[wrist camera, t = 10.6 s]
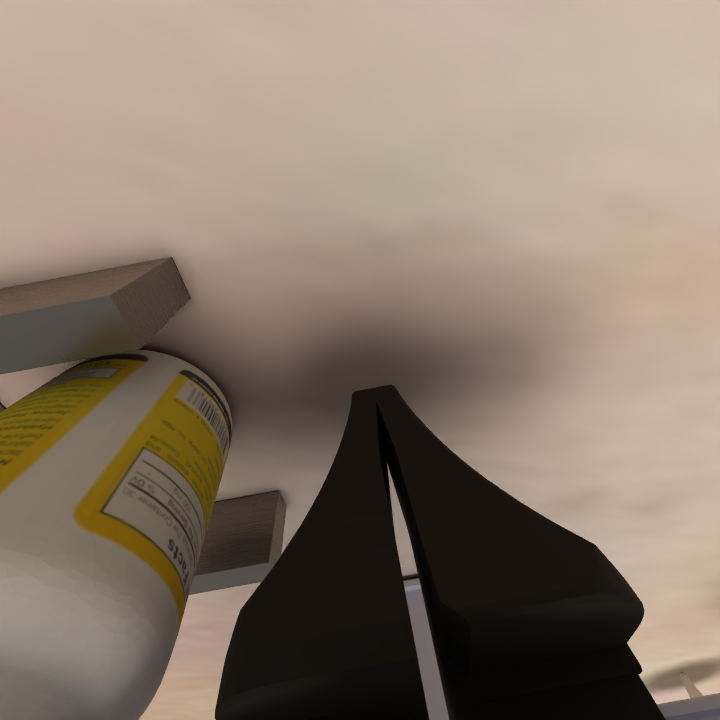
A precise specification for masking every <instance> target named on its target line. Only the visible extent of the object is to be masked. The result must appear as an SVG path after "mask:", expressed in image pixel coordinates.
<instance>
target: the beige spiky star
mask: <svg viewBox="0 0 720 720" xmlns="http://www.w3.org/2000/svg"><path fill="white" fill-rule="evenodd" d="M680 677H681V679H682V681H683V684H684V686H685V688H686V690H687V692H688V694H689V696H690V698H695V697H701V696H703V695H702V694H701V693H700V691H699V690H698V689H697V688H696V687H695V685H694V684H693V683H692V682H691V681H690V679H689V678H688V677H687V676H686V675H685V674H684V673H680Z"/></svg>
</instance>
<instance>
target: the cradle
mask: <svg viewBox="0 0 720 720" xmlns="http://www.w3.org/2000/svg"><path fill="white" fill-rule="evenodd" d="M189 299H190V296H189V294H188V292H187V290H186V288H185V285H184V283H183V281H182V279H181V277H180V274H179V272H178V270H177V268H176V266H175V264H174V261H173V259H172V257H170V258H165V259H160V260H154V261H149V262H143V263H138V264H133V265H127V266H122V267H117V268H111V269H106V270H100V271H95V272H90V273H84V274H79V275H74V276H68V277H63V278H57V279H52V280H47V281H41V282H36V283H31V284H25V285H20V286H14V287H9V288H4V289H0V374H5V373H10V372H16V371H21V370H26V369H32V368H37V367H43V366H48V365H53V364H59V363H64V362H70V361H75V360H80V359H86V358H91V357H97V356H102V355H107V354H113V353H118V352H124V351H129V350H134V349H140V348H142V347H143V346H144V345H145V344H146V343H147V342H148V341H149V340H150V339H151V338H152V337H153V336H154V335H155V334H156V333H157V332H158V331H159V330H160V329H161V328H162V327H163V326H164V325H165V324H166V323H167V322H168V321H169V320H170V319H171V318H172V317H173V316H174V315H175V314H176V313H177V312H178V311H179V310H180V309H181V307H182V306H183V305H184V304H185V303H186V302H187V301H188V300H189ZM3 410H5V409H4V407H3V406H2V405H1V404H0V412H1V411H3ZM285 515H286V505H285V503H284V501H283V499H282V496H281V494H280V492H279V491H275V492H269V493H264V494H258V495H253V496H247V497H242V498H237V499H231V500H226V501H220V502H215V503H214V506H213V509H212V513H211V517H210V521H209V524H208V528H207V531H206V534H205V538H204V542H203V545H202V549H201V552H200V556H199V560H198V563H197V567H196V570H195V574H194V577H193V581H192V585H191V588H190V592H189V595H191V594H197V593H202V592H208V591H213V590H219V589H224V588H230V587H235V586H241V585H246V584H252V583H257V582H262V581H263V580H264V578H265V577H266V576H267V574H268V573H269V572H270V570H271V569H272V568H273V566H274V565H275V564H276V562H277V561H278V559H279V558H280V556H281V551H282V542H283V533H284V524H285Z"/></svg>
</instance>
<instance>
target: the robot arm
mask: <svg viewBox="0 0 720 720" xmlns="http://www.w3.org/2000/svg"><path fill="white" fill-rule="evenodd" d="M387 463H388V467H389V470H390V473H391V476H392V480H393V483H394V486H395V489H396V493H397V496H398V499H399V502H400V505H401V509H402V512H403V515H404V518H405V522H406V525H407V529H408V532H409V536H410V540H411V544H412V549H413V554H414V558H415V563H416V567H417V572H418V576H419V578H417V579H412V580H406V581H403V578H402V572H401V567H400V562H399V556H398V551H397V546H396V540H395V533H394V526H393V516H392V506H391V497H390V487H389V478H388V468H387ZM643 616H644V608H643V604H642V602H641V601H640V599H639V598H638V597H637V595H636V594H635V592H634V591H633V590H632V588H631V587H630V585H629V584H628V583H627V581H626V580H625V579H624V577H623V576H622V575H621V574H620V573H619V572H618V570H617V569H616V568H615V567H614V566H613V564H612V563H611V562H610V561H609V560H608V559H607V558H606V556H605V555H604V554H603V553H602V552H601V551H600V550H599V549H598V547H597V546H596V545H595V544H593V543H591V542H589V541H587V540H585V539H584V538H582V537H580V536H578V535H576V534H574V533H572V532H571V531H569V530H567V529H565V528H563V527H561V526H560V525H558V524H556V523H554V522H552V521H551V520H549V519H547V518H545V517H544V516H542V515H541V514H539V513H537V512H536V511H534V510H532V509H531V508H529V507H528V506H526V505H524V504H523V503H521V502H519V501H518V500H516V499H515V498H514V497H512V496H511V495H509V494H508V493H506V492H505V491H503V490H502V489H500V488H499V487H497V486H496V485H494V484H493V483H492V482H490V481H489V480H487V479H486V478H484V477H483V476H482V475H480V474H479V473H478V472H477V471H475V470H474V469H473V468H471V467H470V466H469V465H468V464H466V463H465V462H464V461H463V460H462V459H460V458H459V457H458V456H457V455H456V454H454V453H453V452H452V451H451V450H450V449H449V448H448V447H447V446H445V445H444V444H443V443H442V442H441V441H440V440H439V439H438V438H437V437H436V436H435V435H434V434H433V433H432V432H431V431H430V430H429V429H428V428H427V427H426V426H425V425H424V424H423V422H422V421H421V420H420V419H419V418H418V417H417V416H416V415H415V414H414V412H413V411H412V410H411V409H410V407H409V406H408V405H407V404H406V402H405V401H404V400H403V398H402V397H401V396H400V394H399V393H398V391H397V389H396V388H395V386H393V385H386V386H381V387H376V388H370V389H365V390H360V391H355V392H354V393H353V394H352V401H351V407H350V412H349V416H348V421H347V424H346V427H345V431H344V434H343V437H342V440H341V443H340V446H339V448H338V451H337V454H336V456H335V459H334V462H333V464H332V466H331V469H330V471H329V473H328V475H327V478H326V480H325V482H324V484H323V486H322V488H321V490H320V492H319V494H318V496H317V497H316V499H315V501H314V503H313V505H312V507H311V508H310V510H309V512H308V514H307V516H306V517H305V519H304V521H303V522H302V524H301V526H300V527H299V529H298V530H297V532H296V533H295V535H294V536H293V538H292V540H291V541H290V543H289V544H288V546H287V547H286V549H285V550H284V552H283V553H282V555H281V556H280V558H279V559H278V561H277V562H276V564H275V565H274V566H273V568H272V569H271V570H270V572H269V573H268V574H267V576H266V577H265V578H264V580H263V581H262V582H261V584H260V585H259V586H258V588H257V589H256V590H255V592H254V593H253V594H252V596H251V597H250V598H249V600H248V601H247V602H246V604H245V605H244V606H243V607H242V609H241V610H240V613H239V616H238V619H237V622H236V625H235V628H234V631H233V634H232V638H231V641H230V645H229V648H228V651H227V655H226V659H225V663H224V668H223V673H222V678H221V684H220V689H219V694H218V699H217V704H216V709H215V719H216V720H720V693H717V694H712V695H706V696H701V697H695V698H690V699H685V700H679V701H674V702H668V703H663V704H656V703H655V701H654V699H653V698H652V696H651V695H650V693H649V691H648V690H647V688H646V686H645V685H644V683H643V681H642V680H641V678H640V677H639V675H638V674H640V673H641V672H642V668H641V665H640V664H639V662H638V660H637V659H636V657H635V656H634V654H633V652H632V651H631V649H630V648H629V646H628V644H627V642H628V641H629V639H630V638H631V636H632V635H633V634H634V632H635V631H636V629H637V628H638V627H639V625H640V623H641V621H642V619H643Z"/></svg>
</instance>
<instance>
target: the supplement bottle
mask: <svg viewBox="0 0 720 720" xmlns="http://www.w3.org/2000/svg"><path fill="white" fill-rule="evenodd" d="M231 436H232V417H231V412H230V409H229V405H228V403H227V401H226V399H225V397H224V395H223V394H222V392H221V391H220V389H219V388H218V386H217V385H216V384H215V383H214V382H213V381H212V380H211V379H210V378H209V377H208V376H207V375H206V374H205V373H203V372H202V371H200V370H199V369H198V368H196V367H194V366H193V365H191V364H189V363H187V362H185V361H183V360H181V359H178V358H176V357H174V356H171V355H167V354H164V353H159V352H154V351H148V350H129V351H124V352H118V353H113V354H107V355H102V356H97V357H91V358H89V359H87V360H85V361H83V362H81V363H79V364H77V365H75V366H73V367H72V368H70V369H68V370H66V371H65V372H63V373H62V374H60V375H58V376H57V377H55V378H53V379H52V380H50V381H49V382H47V383H46V384H44V385H42V386H41V387H39V388H38V389H36V390H35V391H33V392H32V393H30V394H29V395H27V396H25V397H24V398H22V399H21V400H19V401H17V402H16V403H14V404H13V405H11V406H10V407H8V408H6V409H5V410H3V411H1V412H0V720H138V719H139V718H140V717H141V715H142V714H143V713H144V711H145V710H146V708H147V707H148V705H149V704H150V702H151V701H152V699H153V697H154V695H155V694H156V692H157V690H158V688H159V686H160V684H161V681H162V679H163V676H164V674H165V671H166V668H167V666H168V663H169V660H170V657H171V654H172V651H173V648H174V645H175V642H176V639H177V636H178V632H179V628H180V625H181V621H182V618H183V614H184V610H185V606H186V602H187V599H188V595H189V592H190V588H191V585H192V581H193V577H194V574H195V570H196V567H197V563H198V560H199V556H200V552H201V549H202V545H203V542H204V538H205V534H206V531H207V528H208V524H209V521H210V517H211V513H212V509H213V506H214V502H215V499H216V496H217V491H218V488H219V484H220V481H221V478H222V474H223V470H224V466H225V463H226V459H227V455H228V451H229V447H230V443H231Z"/></svg>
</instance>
